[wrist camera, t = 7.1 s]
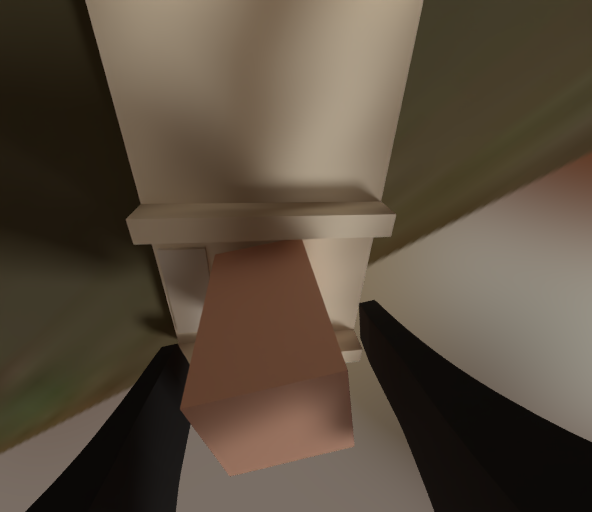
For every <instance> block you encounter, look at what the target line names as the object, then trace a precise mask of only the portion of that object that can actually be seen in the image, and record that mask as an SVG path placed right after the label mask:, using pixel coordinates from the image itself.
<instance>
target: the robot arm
mask: <svg viewBox="0 0 592 512" xmlns="http://www.w3.org/2000/svg"><path fill="white" fill-rule="evenodd" d="M359 313H360V314H359V315H360V338H361V341H362V344H363V346H364V349H365V352H366V355H367V357H368V360H369V362H370V365H371V367H372V369H373V371H374V373H375V375H376V377H377V378H378V381H379V383H380V385H381V387H382V389H383V390H384V393H385V395H386V396H387V399H388V401H389V402H390V405H391V407H392V409H393V411H394V413H395V415H396V417H397V418H398V421H399V423H400V425H401V427H402V429H403V432H404V434H405V437H406V439H407V442H408V444H409V447H410V449H411V452H412V454H413V457H414V459H415V462H416V464H417V467H418V470H419V472H420V475H421V477H422V480H423V482H424V485H425V487H426V490H427V493H428V496H429V498H430V501H431V503H432V506H433V509H434V512H592V442H590V441H588V440H586V439H583V438H582V437H579V436H577V435H575V434H573V433H571V432H569V431H567V430H565V429H563V428H561V427H559V426H557V425H555V424H553V423H551V422H550V421H548V420H546V419H544V418H542V417H540V416H538V415H536V414H534V413H533V412H531V411H529V410H527V409H525V408H524V407H522V406H520V405H518V404H516V403H515V402H513V401H511V400H509V399H508V398H505V397H504V396H502V395H500V394H499V393H497V392H495V391H494V390H492V389H490V388H489V387H487V386H486V385H484V384H482V383H480V382H479V381H478V380H476V379H474V378H473V377H471V376H470V375H468V374H467V373H465V372H463V371H462V370H461V369H459V368H458V367H456V366H455V365H453V364H452V363H450V362H449V361H448V360H446V359H445V358H443V357H442V356H441V355H439V354H438V353H436V352H435V351H434V350H433V349H431V348H430V347H429V346H427V345H426V344H425V343H423V342H422V341H421V340H420V339H419V338H417V337H416V336H415V335H413V334H412V333H411V332H410V331H409V330H407V329H406V328H405V327H404V326H403V325H402V324H400V323H399V322H398V321H397V320H396V319H395V318H394V317H393V316H391V315H390V314H389V313H388V312H387V311H386V310H385V309H384V308H383V307H382V306H381V305H380V304H379V303H377V302H376V301H375V300H372V301H368V302H363V303H359ZM189 367H190V364H189V362H188V360H187V359H186V357H185V355H184V354H183V352H182V350H181V349H180V347H179V345H178V344H174V345H169V346H165V347H161V349H160V350H159V351H158V353H157V354H156V355H155V357H154V358H153V359H152V361H151V362H150V364H149V365H148V366H147V368H146V369H145V371H144V372H143V373H142V375H141V376H140V378H139V379H138V380H137V382H136V383H135V384H134V386H133V387H132V388H131V390H130V391H129V392H128V394H127V395H126V396H125V398H124V399H123V401H122V402H121V403H120V404H119V406H118V407H117V408H116V410H115V411H114V412H113V413H112V415H111V416H110V417H109V418H108V420H107V421H106V422H105V423H104V425H103V426H102V427H101V429H100V430H99V431H98V432H97V433H96V435H95V436H94V437H93V438H92V440H91V441H90V442H89V443H88V445H87V446H86V447H85V448H84V449H83V450H82V451H81V453H80V454H79V455H78V456H77V457H76V458H75V460H73V462H72V463H71V464H70V465H69V466H68V467H67V468H66V470H65V471H64V472H63V473H62V474H61V475H60V476H59V477H58V478H57V479H56V481H55V482H54V483H53V484H52V485H51V486H50V487H49V488H48V489H47V490H46V491H45V492H44V493H43V494H42V495H41V496H40V497H39V498H38V499H37V500H36V501H35V502H34V503H33V504H32V505H31V506H30V507H29V508H28V510H27V511H26V512H176V505H177V496H178V487H179V480H180V474H181V468H182V464H183V459H184V453H185V449H186V444H187V438H188V434H189V429H190V424H191V423H190V422H189V421H188V419H187V418H186V417H185V415H184V414H183V413H182V411H181V410H180V406H181V402H182V398H183V393H184V389H185V384H186V380H187V376H188V371H189Z"/></svg>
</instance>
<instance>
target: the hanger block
mask: <svg viewBox="0 0 592 512" xmlns="http://www.w3.org/2000/svg"><path fill="white" fill-rule="evenodd" d="M180 410H181V411H182V413H183V414H184V415H185V417H186V418H187V419H188V421H189V422H190V423H191V425H192V426H193V428H194V429H195V430H196V432H197V433H198V434H199V436H200V437H201V438H202V440H203V441H204V442H205V444H206V445H207V446H208V448H209V449H210V450H211V452H212V453H213V454H214V456H215V457H216V458H217V460H218V461H219V462H220V464H221V465H222V466H223V468H224V469H225V471H226V472H227V473H228V474H229V476H234V475H238V474H243V473H246V472H251V471H255V470H258V469H263V468H267V467H271V466H275V465H279V464H284V463H288V462H292V461H296V460H300V459H304V458H308V457H312V456H317V455H321V454H325V453H329V452H333V451H337V450H341V449H346V448H350V447H354V435H353V425H352V413H351V402H350V391H349V379H348V370H347V367H346V364H345V361H344V358H343V355H342V353H341V350H340V347H339V344H338V341H337V338H336V335H335V332H334V330H333V327H332V324H331V321H330V318H329V315H328V312H327V310H326V307H325V304H324V301H323V298H322V295H321V292H320V289H319V287H318V284H317V281H316V278H315V275H314V272H313V269H312V267H311V264H310V261H309V258H308V255H307V252H306V249H305V246H304V244H303V241H302V239H299V240H282V241H277V242H273V243H268V244H263V245H258V246H254V247H249V248H244V249H239V250H235V251H230V252H225V253H220V254H216V255H215V257H214V261H213V265H212V270H211V274H210V279H209V283H208V287H207V292H206V296H205V301H204V305H203V309H202V314H201V318H200V323H199V327H198V332H197V336H196V340H195V345H194V349H193V354H192V358H191V362H190V367H189V371H188V376H187V380H186V384H185V389H184V393H183V398H182V402H181V406H180Z"/></svg>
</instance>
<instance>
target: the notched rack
mask: <svg viewBox="0 0 592 512" xmlns="http://www.w3.org/2000/svg"><path fill="white" fill-rule="evenodd" d="M85 1H86V5H87V8H88V12H89V16H90V19H91V23H92V27H93V30H94V34H95V38H96V41H97V45H98V49H99V52H100V56H101V60H102V63H103V67H104V71H105V74H106V78H107V82H108V85H109V89H110V93H111V96H112V100H113V104H114V107H115V111H116V115H117V118H118V122H119V126H120V129H121V133H122V137H123V140H124V144H125V148H126V151H127V155H128V159H129V162H130V166H131V170H132V173H133V177H134V181H135V184H136V188H137V192H138V195H139V199H140V203H141V204H140V205H139V206H138V207H137V208H136V209H135V210H134V211H133V212H132V213H131V214H130V215H129V216H128V217H127V218H126V222H127V225H128V229H129V232H130V235H131V238H132V241H133V245H139V244H152V247H153V251H154V254H155V258H156V262H157V265H158V269H159V273H160V276H161V280H162V284H163V287H164V291H165V295H166V298H167V302H168V306H169V309H170V313H171V317H172V320H173V324H174V328H175V331H176V335H177V339H178V342H179V347H180V349H181V350H182V352H183V354H184V355H185V357H186V359H187V360H188V362H189V364H190V362H191V358H192V354H193V349H194V345H195V340H196V336H197V332H198V327H199V323H200V318H201V314H202V309H203V305H204V301H205V296H206V292H207V287H208V283H209V279H210V274H211V270H212V265H213V261H214V257H215V255H216V254H220V253H225V252H230V251H235V250H239V249H244V248H249V247H254V246H258V245H263V244H268V243H273V242H277V241H282V240H299V239H302V241H303V244H304V246H305V249H306V252H307V255H308V258H309V261H310V264H311V267H312V269H313V272H314V275H315V278H316V281H317V284H318V287H319V289H320V292H321V295H322V298H323V301H324V304H325V307H326V310H327V312H328V315H329V318H330V321H331V324H332V327H333V330H334V332H335V335H336V338H337V341H338V344H339V347H340V350H341V353H342V355H343V358H344V361H345V363H348V362H358V361H360V357H361V354H362V347H361V345H360V343H359V341H358V338H357V336H356V334H355V331H354V326H355V321H356V316H357V311H358V307H359V302H360V297H361V292H362V288H363V283H364V278H365V274H366V269H367V264H368V260H369V255H370V250H371V245H372V241H373V237H391V234H392V230H393V226H394V222H395V218H396V214H395V213H394V212H393V211H392V210H391V209H389V208H388V207H387V206H386V205H385V204H383V203H382V202H381V198H382V194H383V189H384V184H385V179H386V175H387V170H388V165H389V161H390V156H391V151H392V146H393V142H394V137H395V132H396V128H397V123H398V118H399V113H400V109H401V104H402V99H403V95H404V90H405V85H406V80H407V76H408V71H409V66H410V62H411V57H412V52H413V47H414V43H415V38H416V33H417V29H418V24H419V19H420V14H421V10H422V5H423V0H85Z"/></svg>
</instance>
